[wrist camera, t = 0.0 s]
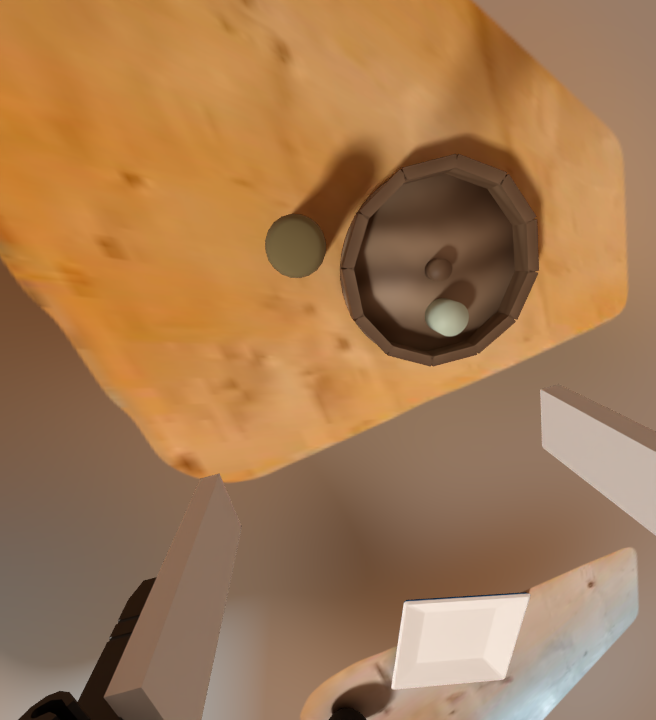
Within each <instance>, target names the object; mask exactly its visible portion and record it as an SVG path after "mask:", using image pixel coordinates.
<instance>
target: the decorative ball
mask: <svg viewBox="0 0 656 720" xmlns="http://www.w3.org/2000/svg"><path fill="white" fill-rule="evenodd" d="M329 720H366V718H365V717H364V716H363V715H362V714H361V713H360V712H358V711H356V710H354V709H351V708H344V709H340V710H338V711H337V712H335V713H334V714H333V715H332V716H331V717H330V719H329Z"/></svg>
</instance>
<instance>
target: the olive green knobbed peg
mask: <svg viewBox="0 0 656 720" xmlns="http://www.w3.org/2000/svg"><path fill="white" fill-rule="evenodd" d="M265 250H266V254H267V257H268V260H269V261H270V263H271V264H272V266H273V267H274V268H275V269H276V270H277V271H278V272H280V273H281V274H282V275H285V276H288V277H290V278H302V277H305V276H309V275H310V274H312V273H313V272H315V271H316V270H317V269H318V268H319V266H320V265H321V264H322V262H323V259H324V256H325V254H326V242H325V238H324V234H323V232H322V230H321V229H320V227H319V226H318V224H316V223H315V222H314V221H313V220H312V219H311V218H309V217H306V216H304V215H301V214H289V215H286V216H282V217H281V218H279V219H278V220H277V221H275V222H274V223H273V225H272V226H271V227H270V229H269V230H268V233H267V236H266V240H265Z"/></svg>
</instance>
